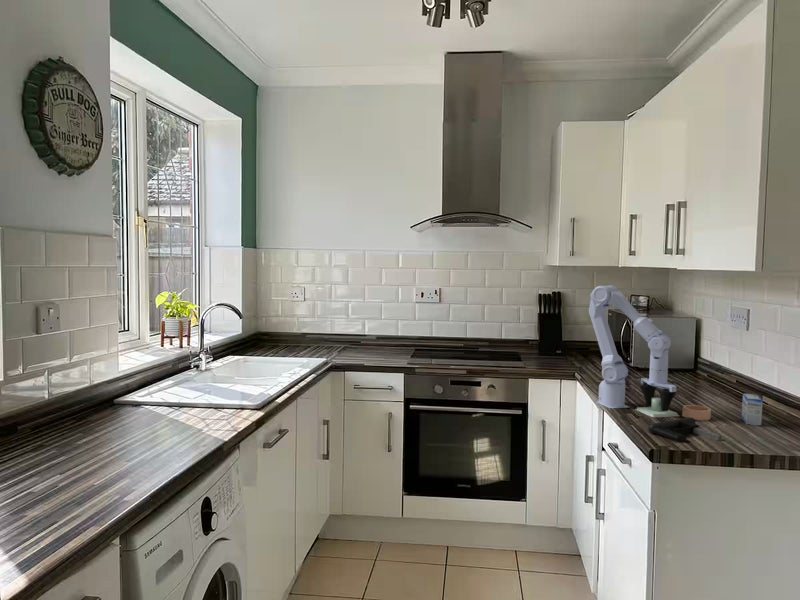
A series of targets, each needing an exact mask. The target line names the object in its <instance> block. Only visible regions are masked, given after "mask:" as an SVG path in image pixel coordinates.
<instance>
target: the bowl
mask: <svg viewBox="0 0 800 600" xmlns="http://www.w3.org/2000/svg"><path fill="white" fill-rule="evenodd" d="M711 415H712V408H709V407H707V406H705V405H704V406H703V405H698V404H685V405H683V407H682V415H681V416H682V417H684V418H687V417H690V418H694V419H695V421H710V419H711V418H712V417H711Z"/></svg>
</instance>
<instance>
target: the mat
mask: <svg viewBox="0 0 800 600" xmlns="http://www.w3.org/2000/svg"><path fill="white" fill-rule="evenodd" d="M634 410H635V411H636V412H640V413H642V414H644V415H647V416H649V417H651V418H654V417H653V416H651V415H648V414H646V413H644V412H641V411H639V410H637V408H635V409H634ZM664 417H665V418H667V417H672V416H656V417H655V418H664ZM677 417H680V415H679V414H678V416H677Z"/></svg>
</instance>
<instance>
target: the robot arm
mask: <svg viewBox="0 0 800 600" xmlns="http://www.w3.org/2000/svg"><path fill="white" fill-rule="evenodd" d="M589 295H590V296H589V297H590V301H589V307H588V314H589V317H590V321H591V324H592V326H593V330H594V333H595V336H596V339H597V343H598V347H599V351H600V354H601V356H602V361H601V363H600V364H601V367H602V370H601V377H602V378H603V380H602V381H601V382H600V383H599V385H598V401H596V403H597V404H600V405H602V406H604V407H606V408H608V409H622V408H623V409H624V408H625V409H626V408H630V406H628V405H627V404H626V403H625V401H626V396H625V395H626V380H625V378H627V377H628V374H629V369H628V367H627V365H626V364H625V363H624V361H623V358H622V357H621V355H619V354H618V351H617V348H616V345H615V342H614V337H613V335H612V332H611V328H610V325H609V322H608V319H607V315H606V312H607V310H608V309H609V307H610V306H613V307H616V308H618V309H619V310H620V311H621V312H622V313H623V314H624V315H625V316H627V318H629V320H631V322H633V329H634V330H635V331H636V332H637V333H638V334H639V336H640V337H642V339H644V340H645V341H646V342H647V346H648V348H649V350H650V355H649V374H648V375H649V378H648V377H641V378H640V384H641V385H639V387H640V390H641V391H642V394H643V397H644V400H645V404H646V405H645V406H646V407H651V404H652V398H655V392H656V389H657V388H658V389H661V390H658V394H659V396H660V397H659V398H661V409H662V411H668V410H670V409H669V408H670V405H671V403H672V400H673V399H674V397H675V396H676V395H677V386H676V385H674V384H672V383H670V382H668V374H669V373H668V372H669V370H668V369H669V348H670V347H671V345H672V340H671V338H670V336H669V335H668V334H666V333H664V331H663V330H662V329H659V328H658V327H657V326H656V325H655V324H654V323H653V322H654V320H653V319H652V318H648V317H645V316H642V315H641V314H640V313H639V312H638V310H636V309H635V307H634V305H632V304H631V302H630V300H628V299H627V298H626V296H625V295H624V294H623V292H621V291H620V290H618V288H617V287H616V286H615V285H610V284H609V285H598V286H596V287H595V288H594V289H593V290H592V292H591V293H590V294H589Z"/></svg>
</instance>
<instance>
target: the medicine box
mask: <svg viewBox="0 0 800 600" xmlns="http://www.w3.org/2000/svg"><path fill="white" fill-rule="evenodd" d="M741 402H742V404H741V420H742V421H743V422H744V423H745V425H748V424H750V426H757V425H761V426H762V416H763V399H762V398H761V397H760V396H759V395H758V394H754V393H752V394H751V393H743V394H742V401H741Z"/></svg>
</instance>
